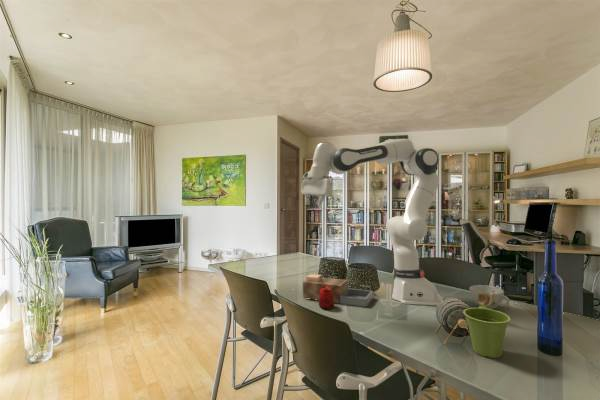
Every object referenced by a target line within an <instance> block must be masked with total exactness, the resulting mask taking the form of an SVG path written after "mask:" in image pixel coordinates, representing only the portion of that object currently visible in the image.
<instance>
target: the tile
mask: <svg viewBox="0 0 600 400" xmlns="http://www.w3.org/2000/svg"><path fill="white" fill-rule="evenodd" d="M321 275H322V274H321ZM321 275H320V274H313V273H311V274H309V275H307V276H305V279H306V280H305V281H313V282H318V281H320V278H321V277H319V276H321ZM322 278H323V277H322ZM322 278H321V279H322Z"/></svg>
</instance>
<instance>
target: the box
mask: <svg viewBox="0 0 600 400" xmlns="http://www.w3.org/2000/svg"><path fill="white" fill-rule="evenodd" d="M372 298H373V299H374V291H373V290H369V289H368V290H367V289H359V288H357V289H356V288H348V289H347V290H346V291H345V292H344V293H343V294H342V295H341V296H340V303H339V305H344V304H347V305H346V306H351V305H354V306H353V307H359V306H361V308H367V307H368V306H369V305H368V304H370V303H371V302H372V301H373V299H372ZM370 301H371V302H370ZM367 305H368V306H367Z"/></svg>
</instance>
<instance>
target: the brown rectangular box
mask: <svg viewBox="0 0 600 400" xmlns="http://www.w3.org/2000/svg"><path fill="white" fill-rule="evenodd" d="M322 280H323V281H324V282H323V283H322ZM323 284H324V286H325V287H326V286H328V287H329V288H331V291H332V292H333V296H334V301H335V302H338V303H337V304H340V296H341V295H342V294H343V293H344V292H345V291H346V290H347V289H349V280H348V279H342V278H333V277H322V279H321V280H320V281H318V282H313V281H306V280H304V281H303V282H302V298H310V299H317V300H319V294H320V291H321V289H322V287H323ZM317 300H316V301H317Z"/></svg>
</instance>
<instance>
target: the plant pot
mask: <svg viewBox="0 0 600 400" xmlns="http://www.w3.org/2000/svg"><path fill="white" fill-rule="evenodd" d="M462 313H463V315H464V316H465V320H466V322H467V325H468V329H469V335H470V340H471V346H472V350H473V351H474V352H475V353H476V354H478V355H479V356H482V357H488V358H491V359H498V358H500V357H502V355H503V351H504V350H503V349H504V344H505V338H506V332H507V328H508V325H509V322H510V321H511V317H510V315H508V314H506V313H504V312H502V311H500V310H495V309H492V310H491V309H486V308H478V307H470V308H466V309H464V310H463V312H462Z"/></svg>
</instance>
